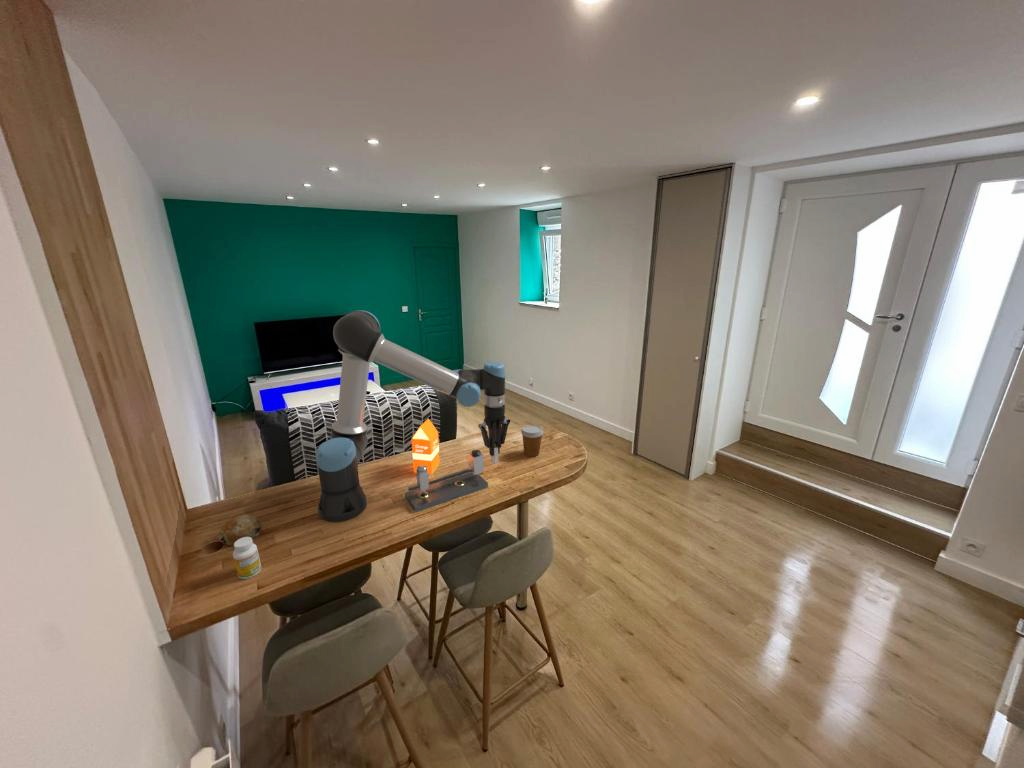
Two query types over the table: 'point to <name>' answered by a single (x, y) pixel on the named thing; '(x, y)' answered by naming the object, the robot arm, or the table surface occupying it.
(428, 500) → the plate
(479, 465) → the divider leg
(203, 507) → the table surface
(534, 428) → the disposable coffee cup
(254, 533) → the bread roll
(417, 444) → the orange juice
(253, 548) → the supplement bottle
